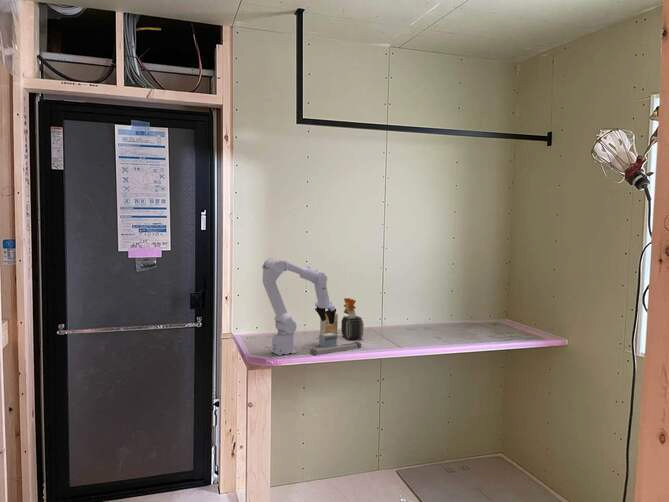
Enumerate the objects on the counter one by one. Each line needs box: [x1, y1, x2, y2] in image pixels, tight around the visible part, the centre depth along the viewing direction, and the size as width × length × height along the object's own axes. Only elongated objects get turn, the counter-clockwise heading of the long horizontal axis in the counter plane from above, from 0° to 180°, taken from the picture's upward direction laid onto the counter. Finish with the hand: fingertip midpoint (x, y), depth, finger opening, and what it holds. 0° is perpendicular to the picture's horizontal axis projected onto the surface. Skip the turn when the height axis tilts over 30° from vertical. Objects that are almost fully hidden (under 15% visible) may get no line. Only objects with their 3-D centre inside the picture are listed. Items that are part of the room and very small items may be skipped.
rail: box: [309, 341, 362, 356], centre depth 224 cm, size 26×4×2 cm, turn 124°
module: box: [318, 333, 338, 348], centre depth 234 cm, size 7×5×6 cm
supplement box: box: [319, 312, 339, 336], centre depth 250 cm, size 8×5×13 cm, turn 126°
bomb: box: [340, 297, 365, 341], centre depth 251 cm, size 8×13×20 cm, turn 22°
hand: (328, 321), depth 233 cm, fingers open, 7 cm apart
